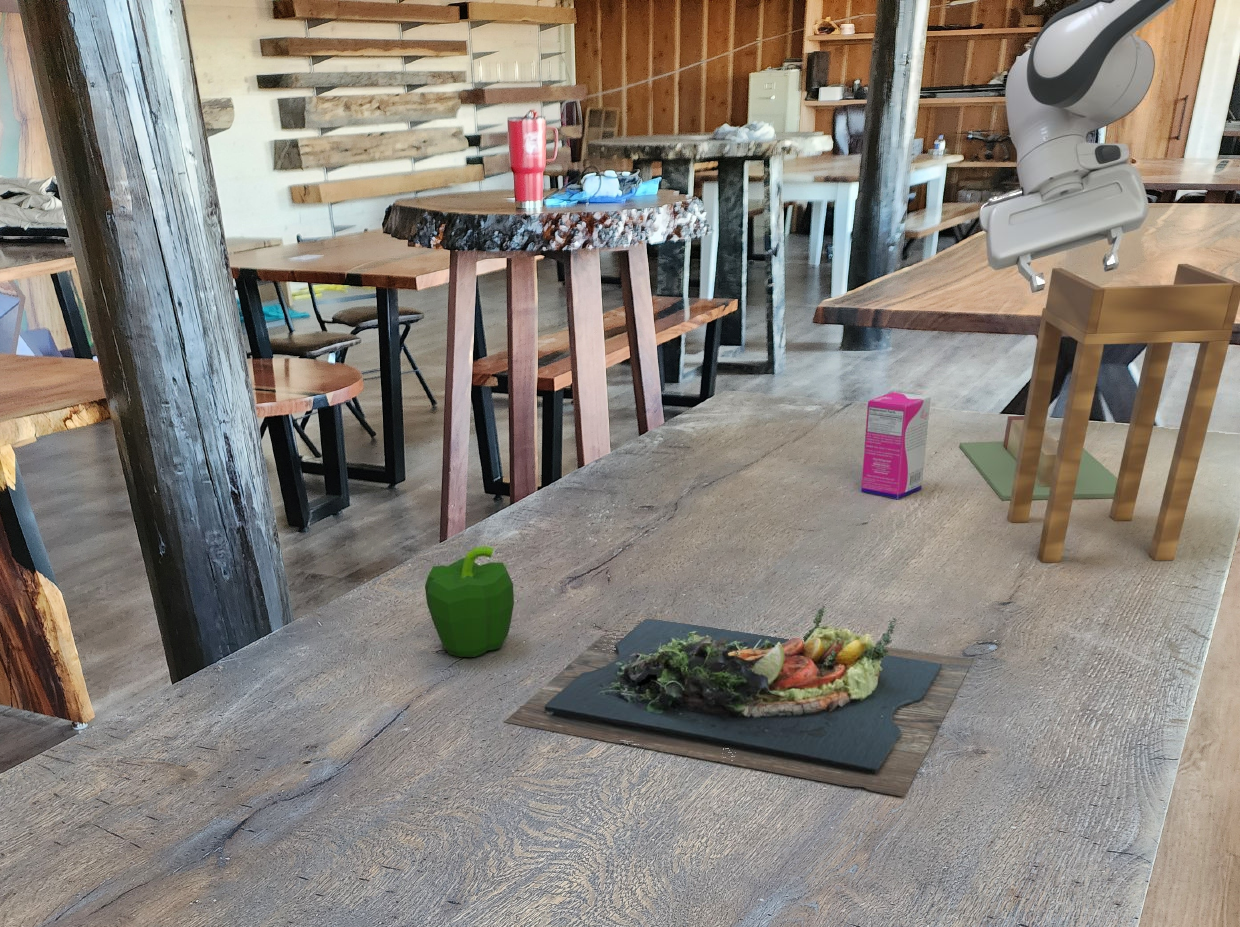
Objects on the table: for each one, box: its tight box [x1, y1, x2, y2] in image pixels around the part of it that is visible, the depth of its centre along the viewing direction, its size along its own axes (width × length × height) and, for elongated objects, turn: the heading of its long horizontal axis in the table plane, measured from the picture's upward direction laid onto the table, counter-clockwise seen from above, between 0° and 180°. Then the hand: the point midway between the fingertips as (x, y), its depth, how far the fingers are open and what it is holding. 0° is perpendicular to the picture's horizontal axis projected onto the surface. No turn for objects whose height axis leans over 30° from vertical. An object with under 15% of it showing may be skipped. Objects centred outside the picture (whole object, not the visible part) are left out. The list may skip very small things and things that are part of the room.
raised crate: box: [1006, 263, 1240, 563], centre depth 127 cm, size 14×16×27 cm
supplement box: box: [860, 391, 932, 500], centre depth 149 cm, size 6×6×12 cm
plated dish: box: [503, 604, 974, 798], centre depth 103 cm, size 35×28×7 cm
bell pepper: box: [424, 545, 515, 658], centre depth 112 cm, size 8×8×10 cm
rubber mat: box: [959, 439, 1118, 501], centre depth 157 cm, size 16×26×1 cm, turn 176°
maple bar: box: [1003, 415, 1059, 487], centre depth 156 cm, size 3×20×4 cm, turn 176°
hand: (1075, 278), depth 158 cm, fingers open, 8 cm apart
